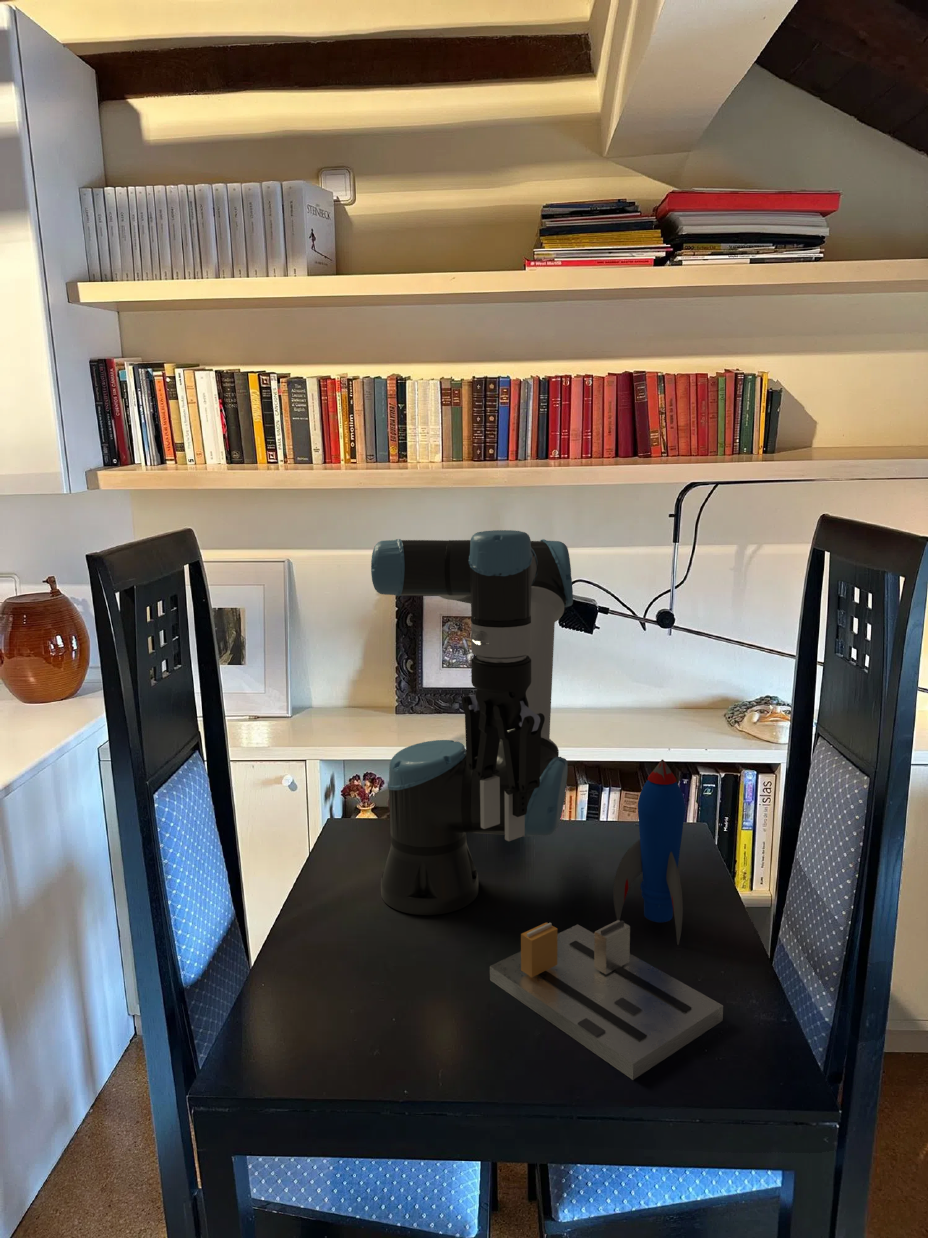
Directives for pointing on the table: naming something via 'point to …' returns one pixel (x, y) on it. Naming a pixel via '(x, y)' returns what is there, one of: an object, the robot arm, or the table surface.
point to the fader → (539, 949)
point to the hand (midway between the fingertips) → (502, 831)
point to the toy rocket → (656, 851)
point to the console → (611, 999)
